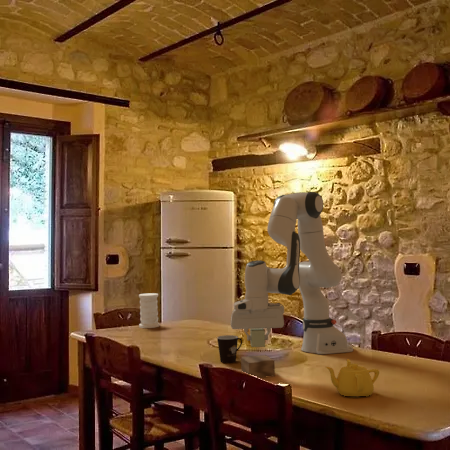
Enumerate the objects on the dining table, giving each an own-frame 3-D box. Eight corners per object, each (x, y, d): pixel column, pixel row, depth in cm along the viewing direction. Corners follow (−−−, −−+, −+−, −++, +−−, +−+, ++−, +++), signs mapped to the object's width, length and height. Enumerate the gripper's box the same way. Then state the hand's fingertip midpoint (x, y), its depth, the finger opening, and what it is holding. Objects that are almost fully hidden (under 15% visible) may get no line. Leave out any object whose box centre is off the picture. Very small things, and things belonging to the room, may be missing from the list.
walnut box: (266, 370, 233) (265, 355, 233) (274, 376, 223) (274, 360, 223) (241, 372, 230) (241, 357, 230) (249, 379, 220) (248, 362, 220)
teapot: (348, 385, 208) (347, 357, 207) (383, 392, 198) (382, 363, 198) (325, 395, 198) (324, 365, 198) (360, 402, 188) (359, 371, 188)
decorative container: (163, 325, 338) (163, 293, 338) (150, 328, 328) (150, 296, 328) (148, 323, 344) (147, 292, 344) (134, 327, 335) (133, 295, 334)
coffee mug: (220, 364, 243) (220, 340, 243) (215, 360, 251) (214, 336, 251) (248, 362, 246) (247, 337, 246) (241, 357, 254) (241, 334, 254)
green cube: (263, 344, 229) (263, 328, 229) (265, 346, 224) (264, 330, 224) (250, 344, 229) (250, 328, 229) (251, 347, 224) (251, 331, 224)
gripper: (282, 301, 230) (283, 337, 231) (229, 303, 229) (230, 339, 229) (285, 304, 224) (286, 340, 224) (230, 305, 223) (231, 342, 223)
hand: (257, 340), depth 227 cm, fingers closed on green cube, 5 cm apart
